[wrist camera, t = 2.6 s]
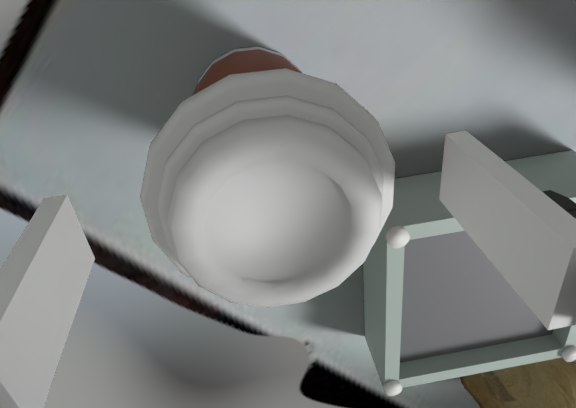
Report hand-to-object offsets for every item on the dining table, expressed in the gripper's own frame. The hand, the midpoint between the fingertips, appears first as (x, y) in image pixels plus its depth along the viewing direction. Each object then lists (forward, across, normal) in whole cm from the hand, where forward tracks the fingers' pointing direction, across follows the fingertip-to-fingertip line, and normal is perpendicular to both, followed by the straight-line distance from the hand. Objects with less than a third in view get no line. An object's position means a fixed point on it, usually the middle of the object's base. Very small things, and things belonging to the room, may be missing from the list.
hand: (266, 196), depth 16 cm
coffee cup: (+10, 0, 0) cm, 10 cm away
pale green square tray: (+10, -13, +13) cm, 21 cm away
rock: (+10, -19, +26) cm, 34 cm away
